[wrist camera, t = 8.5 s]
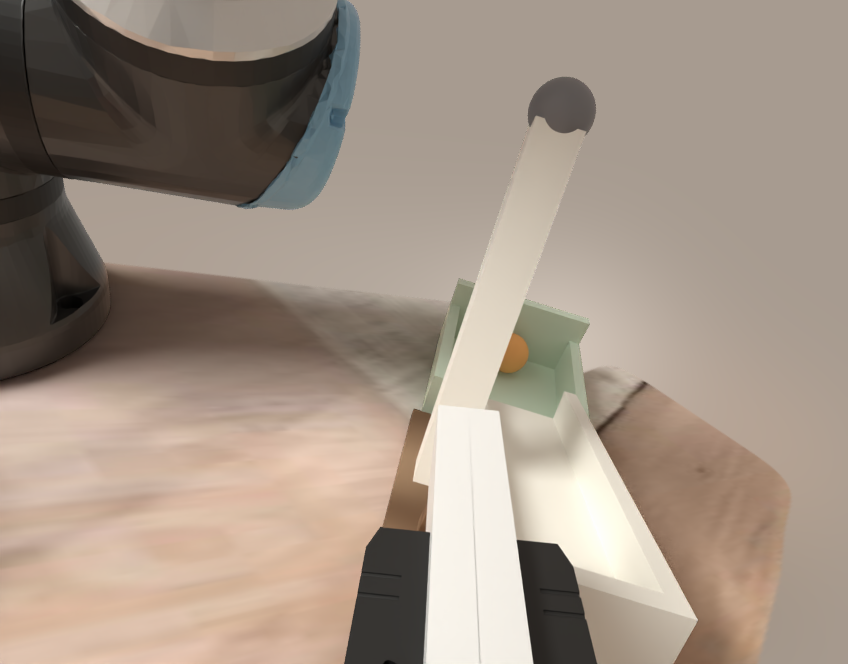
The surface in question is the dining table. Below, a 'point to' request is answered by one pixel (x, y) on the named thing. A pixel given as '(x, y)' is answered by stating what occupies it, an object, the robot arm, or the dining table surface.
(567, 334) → the tray
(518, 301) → the seesaw
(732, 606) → the dining table surface
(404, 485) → the stand
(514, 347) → the ball
